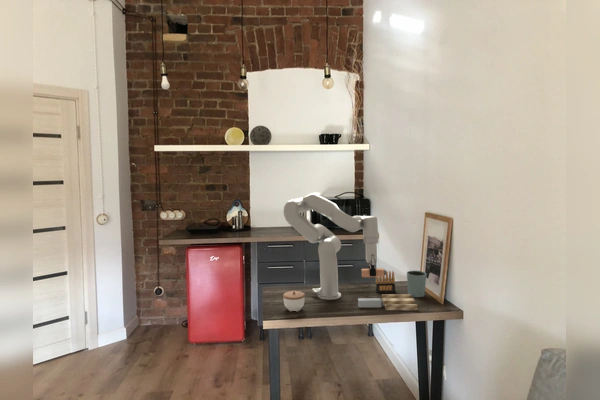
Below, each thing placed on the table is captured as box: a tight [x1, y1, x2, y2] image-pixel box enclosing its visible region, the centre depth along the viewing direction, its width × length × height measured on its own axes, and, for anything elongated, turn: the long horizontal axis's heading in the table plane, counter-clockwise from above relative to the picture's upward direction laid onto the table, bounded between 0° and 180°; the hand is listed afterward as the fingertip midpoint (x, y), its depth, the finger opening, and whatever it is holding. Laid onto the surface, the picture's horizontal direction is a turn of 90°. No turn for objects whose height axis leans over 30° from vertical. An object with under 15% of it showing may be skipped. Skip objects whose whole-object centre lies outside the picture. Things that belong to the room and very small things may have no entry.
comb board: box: [381, 293, 419, 311], centre depth 189 cm, size 15×16×2 cm
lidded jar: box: [282, 290, 306, 312], centre depth 186 cm, size 11×11×9 cm
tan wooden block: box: [361, 267, 387, 278], centre depth 195 cm, size 12×4×4 cm, turn 85°
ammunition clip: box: [375, 270, 396, 294], centre depth 209 cm, size 11×2×12 cm, turn 90°
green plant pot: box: [406, 270, 427, 298], centre depth 203 cm, size 10×10×12 cm
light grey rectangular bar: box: [357, 297, 384, 308], centre depth 188 cm, size 12×4×4 cm, turn 85°
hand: (372, 274), depth 195 cm, fingers closed on tan wooden block, 3 cm apart
